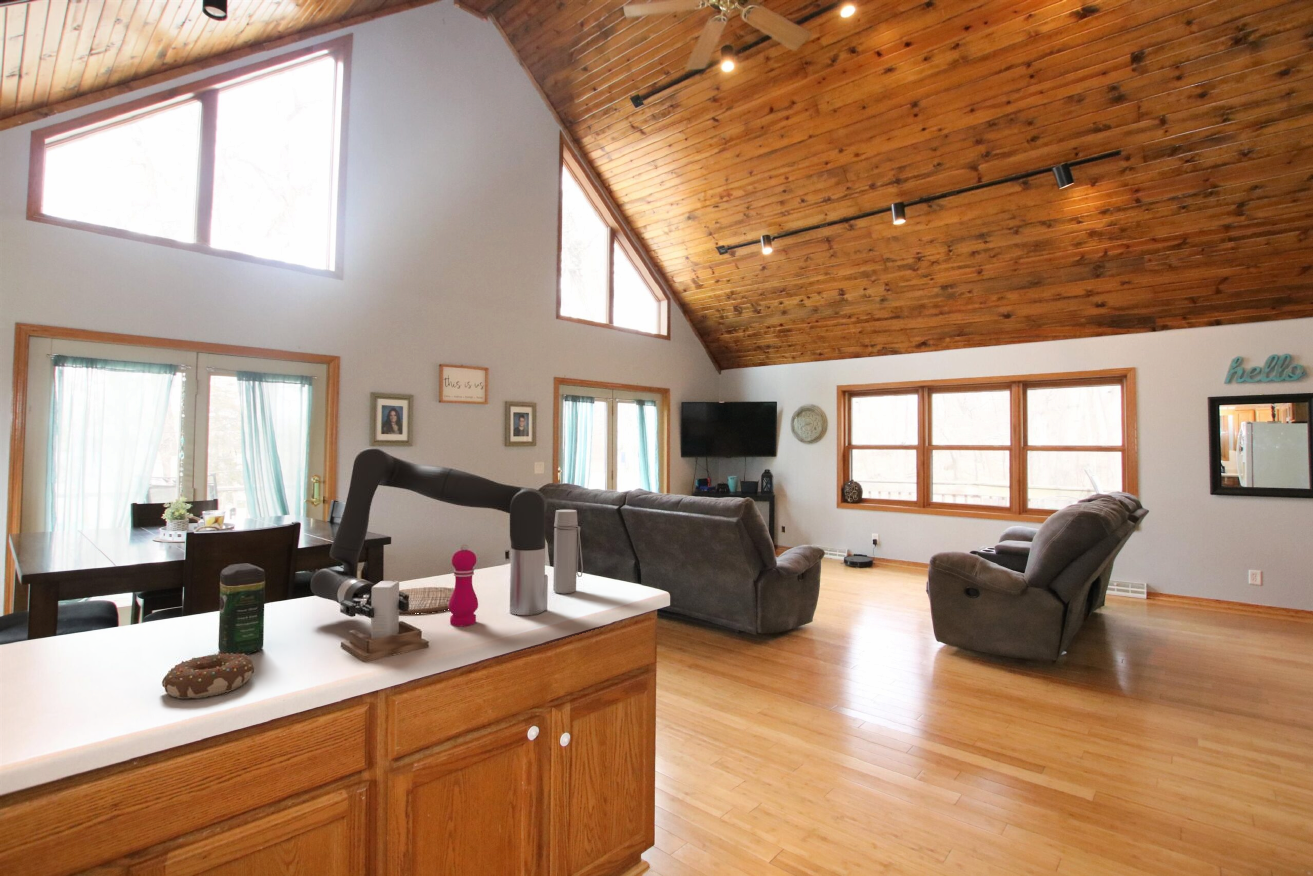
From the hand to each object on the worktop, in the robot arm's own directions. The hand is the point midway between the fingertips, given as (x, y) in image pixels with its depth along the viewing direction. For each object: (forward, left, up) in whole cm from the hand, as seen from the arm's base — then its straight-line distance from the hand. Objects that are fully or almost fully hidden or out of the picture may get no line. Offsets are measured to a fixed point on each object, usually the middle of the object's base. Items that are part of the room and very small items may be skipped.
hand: (389, 610), depth 139 cm
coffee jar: (+23, -21, -9) cm, 33 cm away
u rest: (0, -2, -9) cm, 9 cm away
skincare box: (0, -2, -7) cm, 7 cm away
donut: (+32, -2, -9) cm, 34 cm away
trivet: (-24, -33, -9) cm, 42 cm away
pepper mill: (-22, -7, -9) cm, 25 cm away
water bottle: (-62, -15, -9) cm, 64 cm away
